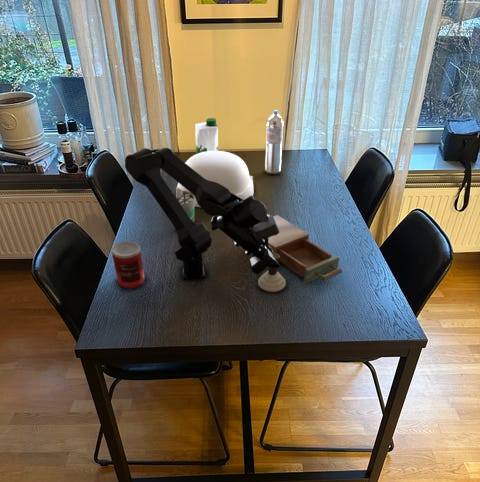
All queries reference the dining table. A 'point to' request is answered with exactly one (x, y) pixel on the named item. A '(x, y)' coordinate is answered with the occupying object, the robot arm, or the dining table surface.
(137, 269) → the canned food
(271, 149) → the water bottle
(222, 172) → the dome cover
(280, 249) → the drawer
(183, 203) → the food container
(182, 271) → the robot arm
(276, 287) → the cream and brown stand
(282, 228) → the cabinet
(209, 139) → the milk carton
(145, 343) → the dining table surface
